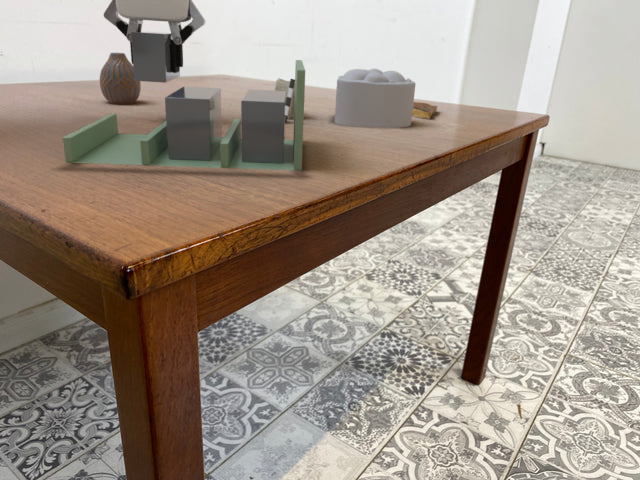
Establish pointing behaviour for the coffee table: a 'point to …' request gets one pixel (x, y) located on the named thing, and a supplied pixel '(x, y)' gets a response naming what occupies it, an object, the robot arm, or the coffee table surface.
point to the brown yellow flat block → (423, 110)
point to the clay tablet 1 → (193, 123)
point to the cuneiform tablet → (287, 96)
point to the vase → (119, 80)
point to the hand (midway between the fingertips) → (157, 69)
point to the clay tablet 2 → (263, 126)
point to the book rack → (152, 149)
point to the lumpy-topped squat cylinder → (374, 99)
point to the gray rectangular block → (152, 56)
